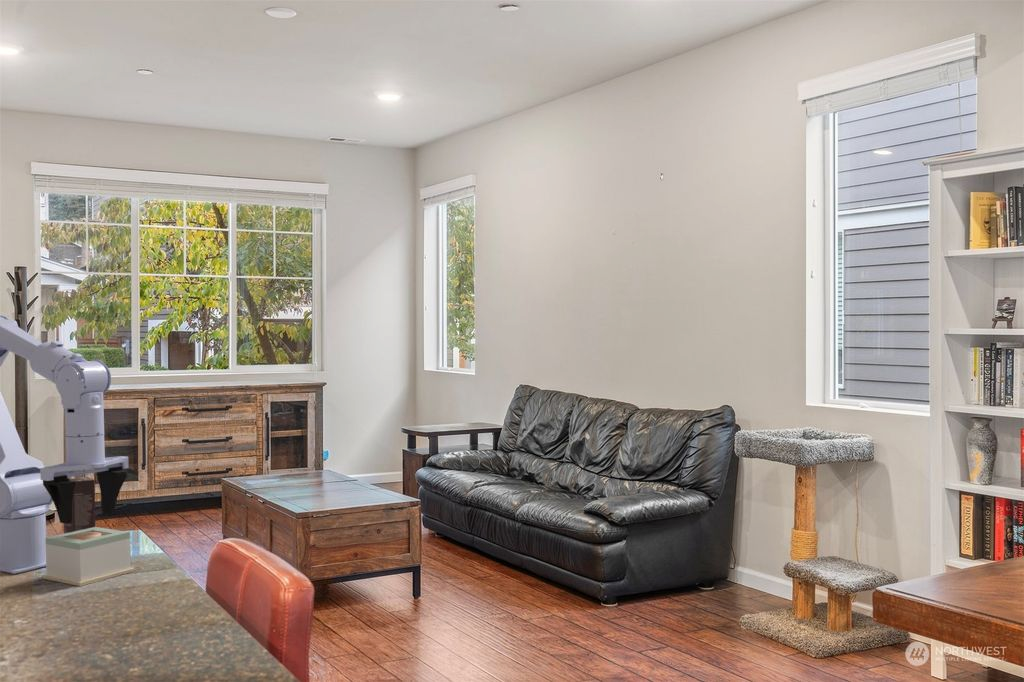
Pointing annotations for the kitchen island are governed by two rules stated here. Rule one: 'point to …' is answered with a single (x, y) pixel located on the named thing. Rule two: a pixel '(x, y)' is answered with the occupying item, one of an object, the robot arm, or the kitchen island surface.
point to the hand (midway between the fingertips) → (87, 518)
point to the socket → (87, 556)
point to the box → (82, 505)
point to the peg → (87, 535)
